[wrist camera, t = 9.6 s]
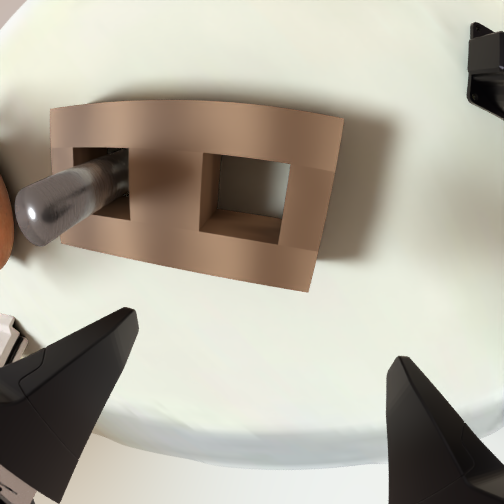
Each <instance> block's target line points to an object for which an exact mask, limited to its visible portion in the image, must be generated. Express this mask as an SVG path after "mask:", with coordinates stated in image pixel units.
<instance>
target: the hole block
mask: <svg viewBox="0 0 504 504" xmlns="http://www.w3.org/2000/svg"><path fill="white" fill-rule="evenodd" d="M343 125H344V119H343V118H338V117H334V116H329V115H323V114H318V113H312V112H306V111H300V110H294V109H287V108H280V107H272V106H264V105H255V104H245V103H234V102H220V101H200V100H136V101H117V102H103V103H92V104H83V105H74V106H67V107H60V108H53V109H50V144H51V165H52V175H54V174H57V173H59V172H61V171H64V170H66V169H69V168H72V167H74V166H77V165H79V164H82V163H85V162H88V161H90V160H93V159H96V158H99V157H102V156H105V155H107V147H113V148H129V197H125V196H121V197H119V198H117V199H116V200H114V201H112V202H111V203H109V204H107V205H106V206H104V207H103V208H101V209H99V210H98V211H96V212H94V213H93V214H91V215H90V216H88V217H87V218H85V219H83V220H82V221H80V222H79V223H77V224H76V225H74V226H73V227H71V228H70V229H68V230H67V231H65V232H64V233H62V234H61V235H60V238H61V243H62V244H66V245H70V246H75V247H79V248H83V249H88V250H92V251H97V252H101V253H106V254H110V255H115V256H119V257H124V258H129V259H133V260H138V261H143V262H147V263H152V264H157V265H162V266H167V267H172V268H177V269H182V270H187V271H192V272H197V273H202V274H207V275H213V276H218V277H223V278H229V279H234V280H239V281H245V282H250V283H256V284H262V285H267V286H273V287H279V288H284V289H290V290H296V291H302V292H308V291H309V287H310V283H311V279H312V276H313V271H314V267H315V263H316V259H317V255H318V251H319V246H320V242H321V238H322V233H323V229H324V224H325V220H326V215H327V210H328V206H329V201H330V196H331V191H332V186H333V181H334V176H335V170H336V165H337V160H338V154H339V148H340V143H341V137H342V131H343ZM221 155H230V156H238V157H246V158H254V159H261V160H268V161H275V162H281V163H288V164H291V165H290V172H289V179H288V185H287V192H286V198H285V204H284V211H283V217H282V219H280V218H274V217H268V216H261V215H255V214H249V213H243V212H236V211H230V210H223V209H217V205H218V191H219V178H220V166H221Z"/></svg>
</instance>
